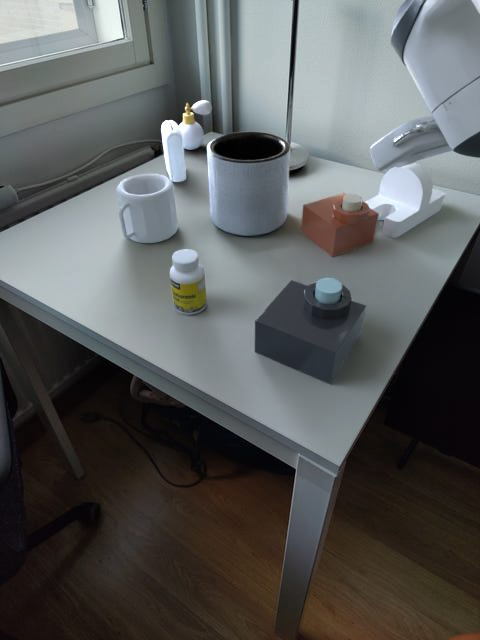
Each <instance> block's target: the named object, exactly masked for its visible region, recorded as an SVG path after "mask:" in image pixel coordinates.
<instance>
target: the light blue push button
mask: <svg viewBox="0 0 480 640" xmlns="http://www.w3.org/2000/svg"><path fill="white" fill-rule="evenodd" d="M316 282H317V283H316V288H315V298H316V300H317V301H319V302H321V303H324V304H335V303H337V302H338V301H339V300H340V298H341V292H342V285H343V284H342V283H341V281H340V280H338V279H336V278H333V277H322V278H320V279H318V280H317V281H316Z"/></svg>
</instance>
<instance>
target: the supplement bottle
mask: <svg viewBox="0 0 480 640" xmlns="http://www.w3.org/2000/svg"><path fill="white" fill-rule="evenodd" d="M199 257H200V256H199V253H198V252H197V251H196V250H194V249H191V248H183V249H179V250H176V251H174V252H173V254H172V256H171V261H172V265H171V267H170V269H169V280H170V288H171V294H172V303H173V307H174V309H175V310H176V311H177V312H178V313H179V314H181V315H185V316H186V315H187V316H191V315H197V314H200V313H201V312H202V311H204V310H205V309H206V307H207V301H208V299H207V288H206V287H207V286H206V277H205V276H206V275H205V268H204V266H203V264H201V263H200V260H199V259H200V258H199Z"/></svg>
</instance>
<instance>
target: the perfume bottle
mask: <svg viewBox="0 0 480 640" xmlns="http://www.w3.org/2000/svg"><path fill="white" fill-rule="evenodd" d="M212 110H213V105H212V103H211V102H210V101H209V100H207V99H206V100H205V99H203V100H199V101H197V102H195V103H194V104H193V105H192V106H191V107H190V104H189V103H188V102H186V103H185V107H184V111H185V112H184V113H182V122H180V124H179V125H178V126H179V128H180V130H181V133H182V137H183V147H184V150H185V149H186V150H191V151H192V150H196V149H198V148H199V147H201V146H202V144H203V142H204V139H205V133H204V129H203V127H202V126H201V125H200V123H198V122H197V121H196V120H195V114H197V115H201V116H206V115H210V113H211V112H212ZM191 111H193V112H194V113H193V112H191Z"/></svg>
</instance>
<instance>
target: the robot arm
mask: <svg viewBox="0 0 480 640" xmlns="http://www.w3.org/2000/svg"><path fill="white" fill-rule="evenodd" d="M390 45H391V47H392V48H393V50H394V52H395V53H396V54H397V57H398V58H399V59H400V60H401V62H402V64H403V65H404V67H406V68H407V71H408V73H409V74H410V76H411V78H412V80H413V82H414V85H416V87H417V89H418V91H419V93H420V95H421V97H422V99H423V100H424V102H425V105H426V106H427V108H428V110H429V112H430V114H431V115H426V116H423V117H419V118H414V119H411V120H408V121H407V122H405V123H402V124H400V125H399V126H397V127H396V128H393V130H391V131H390V132H388V133H387V134H385V135H384V136H383V137H381V138H379V139H378V140H377V141H375V142H374V143H373V144H372V145H370V148H369V152H370V153H369V154H370V157H371V160H372V162H373V164H374V165H373V166H374V167H375V169H376V170H377V171H379V172H383V171H386V170H387V171H388V170H390V169H392V168H394V167H397V168H400V167H403V166H406V165H410V164H413V163H417V162H418V161H422V160H425V159H428V158H431V157H435V156H439V155H442V154H445V153H446V154H447V153H449V152H454V153H455V154H458V155H460V156H465V157H470V158H479V159H480V0H404V2H403V3H401V4H400V6H399V8H398V10H397V11H396V14H395V17H394V19H393V23H392V29H391V35H390Z"/></svg>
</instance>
